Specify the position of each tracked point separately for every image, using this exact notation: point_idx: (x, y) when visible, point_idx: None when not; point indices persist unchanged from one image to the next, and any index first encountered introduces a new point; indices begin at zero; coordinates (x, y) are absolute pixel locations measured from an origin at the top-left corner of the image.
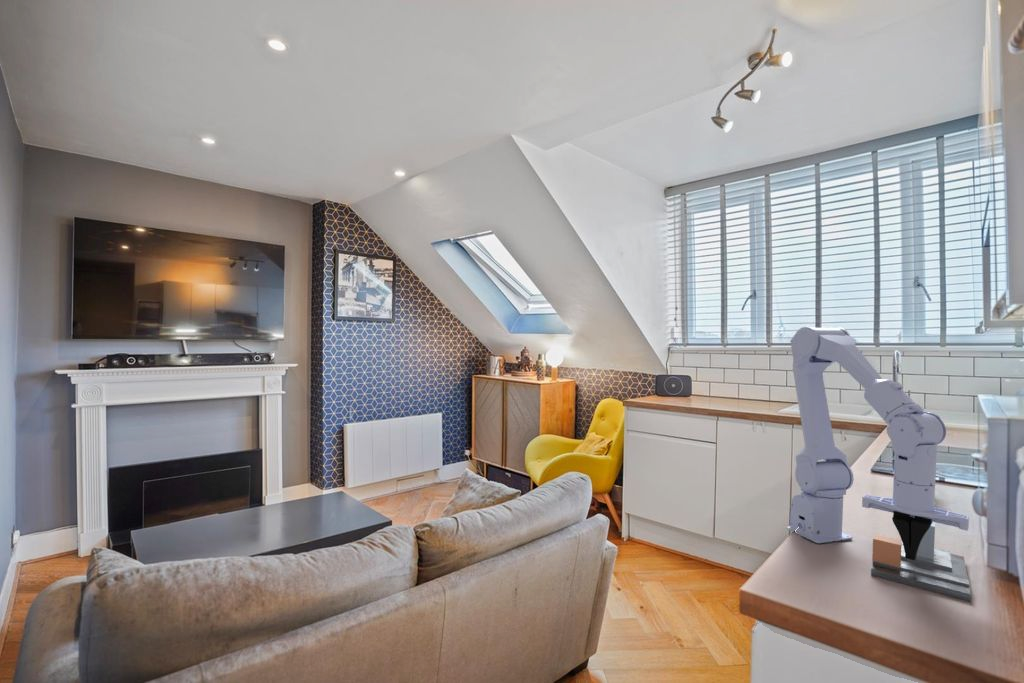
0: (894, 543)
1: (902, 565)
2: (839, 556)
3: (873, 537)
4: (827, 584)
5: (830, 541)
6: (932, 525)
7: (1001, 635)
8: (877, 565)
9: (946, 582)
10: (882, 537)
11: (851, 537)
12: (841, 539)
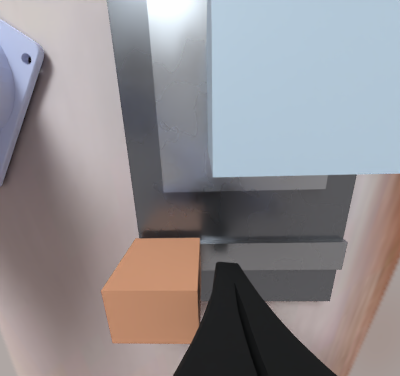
0: (179, 341)
1: (204, 255)
2: (73, 230)
3: (110, 331)
4: (105, 366)
5: (13, 146)
6: (391, 146)
7: (335, 369)
8: None
9: (292, 273)
10: (134, 311)
11: (37, 55)
12: (25, 103)
